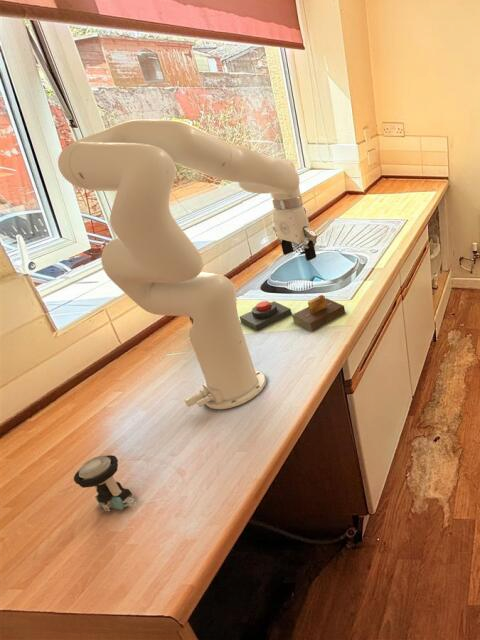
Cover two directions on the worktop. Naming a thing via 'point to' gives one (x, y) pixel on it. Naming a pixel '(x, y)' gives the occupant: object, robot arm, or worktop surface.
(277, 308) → the doorbell
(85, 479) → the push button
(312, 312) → the lock turn
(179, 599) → the worktop surface
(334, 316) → the plate
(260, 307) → the bell button
